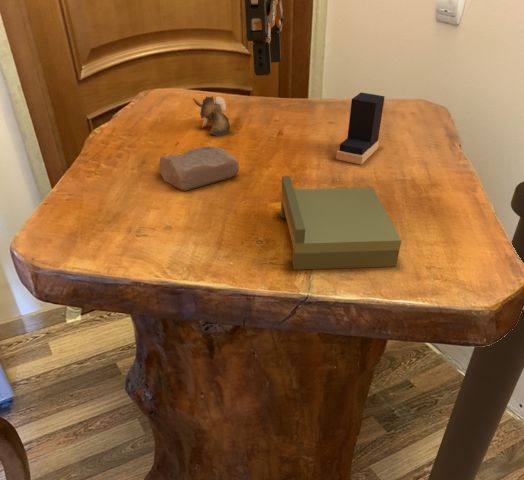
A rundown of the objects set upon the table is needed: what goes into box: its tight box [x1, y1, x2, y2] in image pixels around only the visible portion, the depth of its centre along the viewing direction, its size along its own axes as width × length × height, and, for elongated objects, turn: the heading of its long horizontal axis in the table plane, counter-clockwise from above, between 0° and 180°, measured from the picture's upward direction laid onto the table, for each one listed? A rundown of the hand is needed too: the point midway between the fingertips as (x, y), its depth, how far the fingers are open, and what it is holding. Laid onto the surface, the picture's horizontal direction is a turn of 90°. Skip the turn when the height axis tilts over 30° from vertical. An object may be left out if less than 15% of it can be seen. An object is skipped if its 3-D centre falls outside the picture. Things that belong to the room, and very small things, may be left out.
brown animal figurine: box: [192, 95, 231, 137], centre depth 112 cm, size 8×7×9 cm
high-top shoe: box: [335, 92, 386, 165], centre depth 101 cm, size 9×5×10 cm, turn 152°
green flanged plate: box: [280, 175, 402, 271], centre depth 78 cm, size 14×16×6 cm
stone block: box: [159, 146, 240, 192], centre depth 95 cm, size 12×5×10 cm
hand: (268, 68), depth 79 cm, fingers open, 8 cm apart
